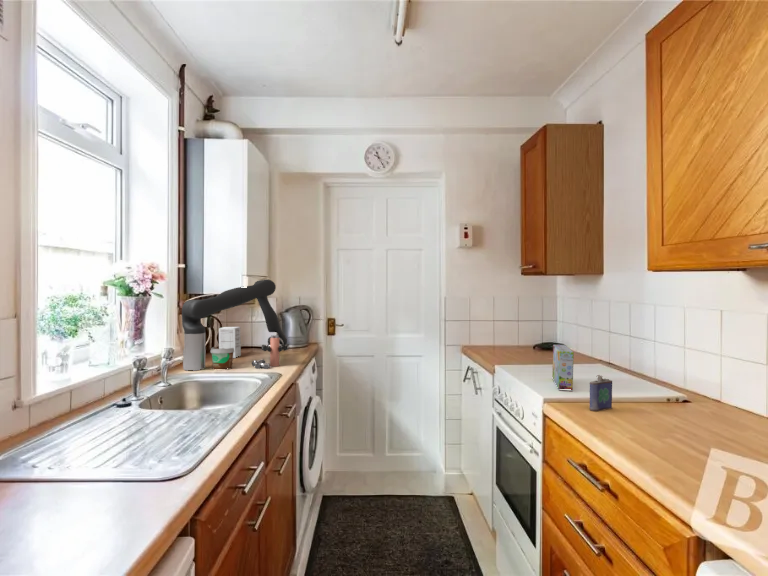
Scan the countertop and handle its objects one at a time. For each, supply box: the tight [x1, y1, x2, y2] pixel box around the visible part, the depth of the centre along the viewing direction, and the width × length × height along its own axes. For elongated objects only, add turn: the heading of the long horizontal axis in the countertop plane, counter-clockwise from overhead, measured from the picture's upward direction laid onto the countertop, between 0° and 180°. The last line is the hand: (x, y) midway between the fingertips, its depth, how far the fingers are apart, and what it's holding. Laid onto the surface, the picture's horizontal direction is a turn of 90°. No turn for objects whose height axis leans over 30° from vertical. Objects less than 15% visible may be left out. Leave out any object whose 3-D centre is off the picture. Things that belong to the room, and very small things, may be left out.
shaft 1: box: [251, 358, 266, 367], centre depth 207 cm, size 7×3×3 cm, turn 156°
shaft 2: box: [254, 362, 271, 370], centre depth 200 cm, size 7×3×3 cm, turn 81°
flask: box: [589, 374, 613, 412], centre depth 131 cm, size 9×3×11 cm, turn 115°
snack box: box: [552, 344, 575, 390], centre depth 164 cm, size 21×6×15 cm, turn 164°
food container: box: [209, 346, 234, 370], centre depth 198 cm, size 12×6×10 cm, turn 73°
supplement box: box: [218, 326, 242, 359], centre depth 233 cm, size 10×9×17 cm
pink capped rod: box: [269, 334, 280, 367], centre depth 205 cm, size 4×4×15 cm
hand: (274, 349), depth 202 cm, fingers closed on pink capped rod, 4 cm apart
